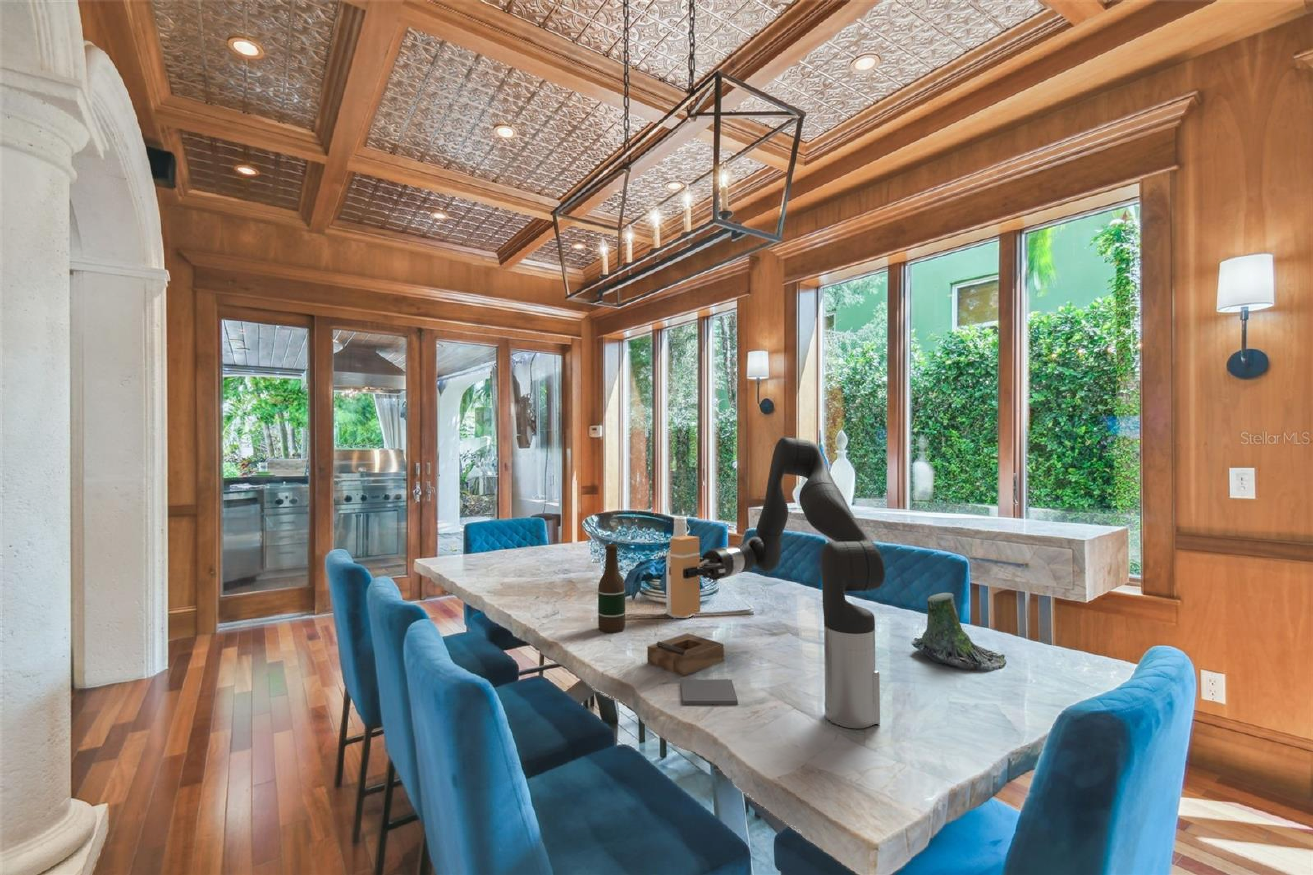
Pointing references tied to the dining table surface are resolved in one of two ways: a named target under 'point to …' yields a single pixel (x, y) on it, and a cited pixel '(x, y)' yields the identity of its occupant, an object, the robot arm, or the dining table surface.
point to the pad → (708, 692)
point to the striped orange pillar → (682, 589)
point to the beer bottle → (611, 595)
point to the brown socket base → (685, 654)
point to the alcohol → (679, 531)
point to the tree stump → (953, 639)
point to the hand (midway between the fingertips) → (677, 572)
